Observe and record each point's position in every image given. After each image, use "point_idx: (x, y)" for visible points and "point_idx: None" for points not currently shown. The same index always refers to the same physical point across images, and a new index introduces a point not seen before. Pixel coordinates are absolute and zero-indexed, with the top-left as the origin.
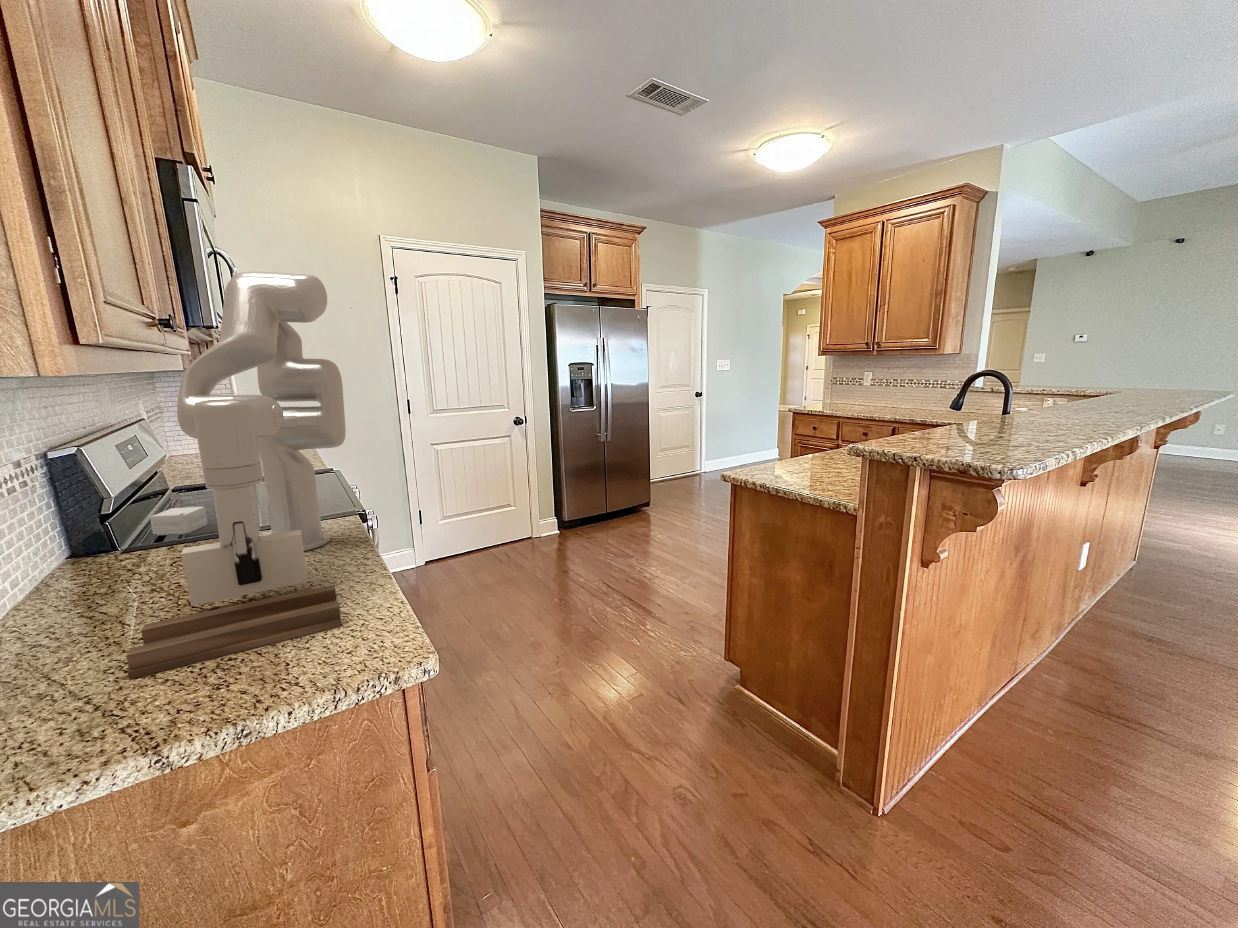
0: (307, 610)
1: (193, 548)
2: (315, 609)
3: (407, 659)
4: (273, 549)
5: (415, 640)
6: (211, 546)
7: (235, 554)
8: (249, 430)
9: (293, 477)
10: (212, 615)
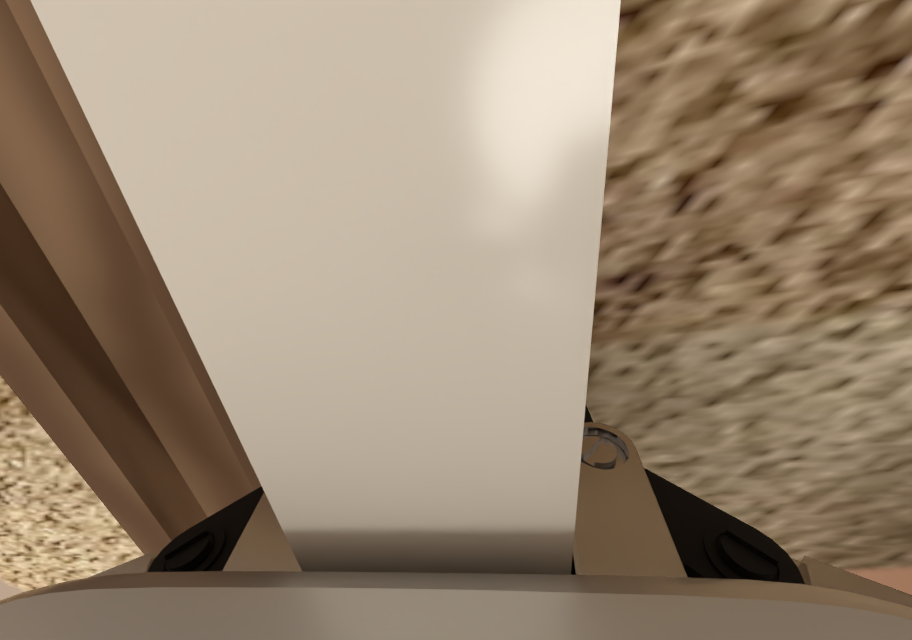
0: (134, 512)
1: (402, 14)
2: (138, 526)
3: (22, 579)
4: None
5: None
6: (378, 393)
7: (253, 521)
8: None
9: None
10: (136, 250)
